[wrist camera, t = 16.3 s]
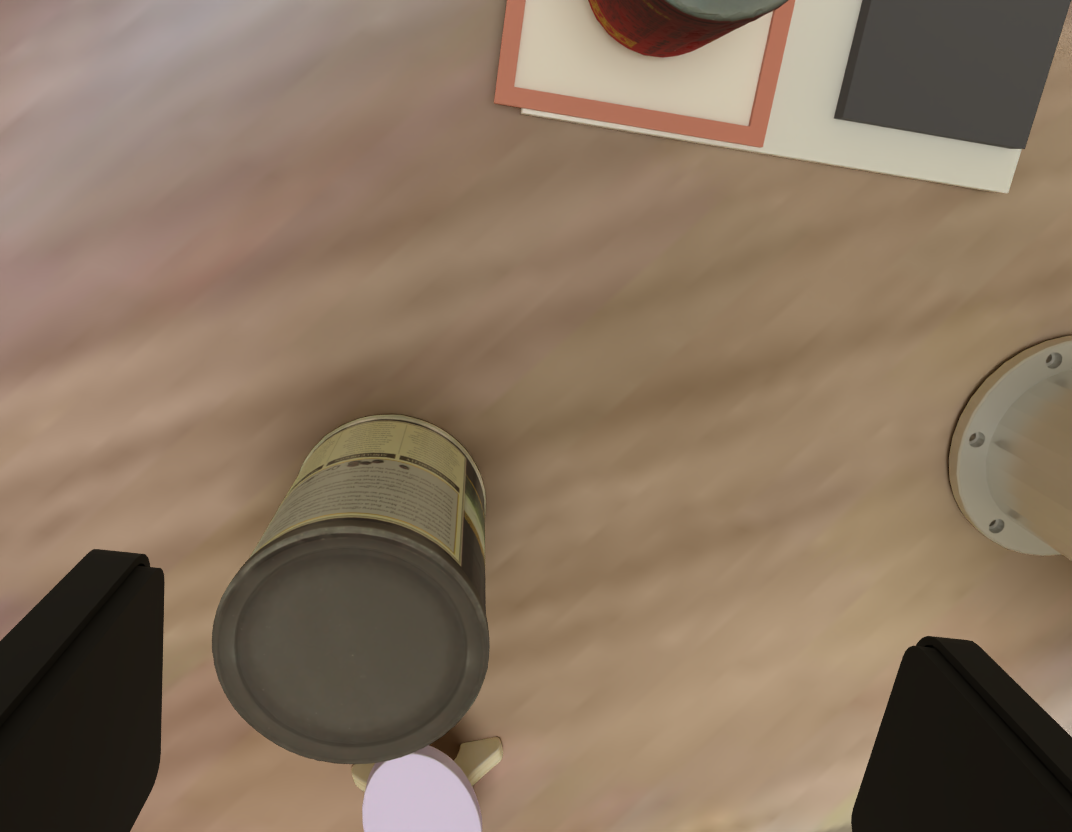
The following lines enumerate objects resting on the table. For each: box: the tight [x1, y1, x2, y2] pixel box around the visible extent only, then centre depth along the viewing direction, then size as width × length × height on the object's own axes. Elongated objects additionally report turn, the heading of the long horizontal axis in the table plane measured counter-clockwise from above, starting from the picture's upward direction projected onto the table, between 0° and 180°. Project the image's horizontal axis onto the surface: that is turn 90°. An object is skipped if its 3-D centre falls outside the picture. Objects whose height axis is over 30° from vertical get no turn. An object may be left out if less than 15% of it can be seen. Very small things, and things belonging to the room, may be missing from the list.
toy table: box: [351, 737, 503, 832], centre depth 46 cm, size 10×9×6 cm
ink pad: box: [834, 0, 1071, 149], centre depth 37 cm, size 9×9×1 cm
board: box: [520, 0, 1022, 193], centre depth 37 cm, size 24×13×1 cm, turn 81°
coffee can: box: [212, 414, 489, 764], centre depth 37 cm, size 10×10×14 cm
